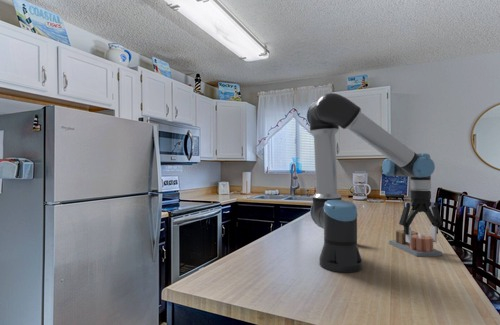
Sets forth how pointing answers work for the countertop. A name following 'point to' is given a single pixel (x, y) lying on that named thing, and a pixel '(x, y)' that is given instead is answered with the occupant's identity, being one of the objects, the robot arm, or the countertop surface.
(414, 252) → the gear board
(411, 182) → the robot arm
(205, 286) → the countertop surface
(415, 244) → the gear
